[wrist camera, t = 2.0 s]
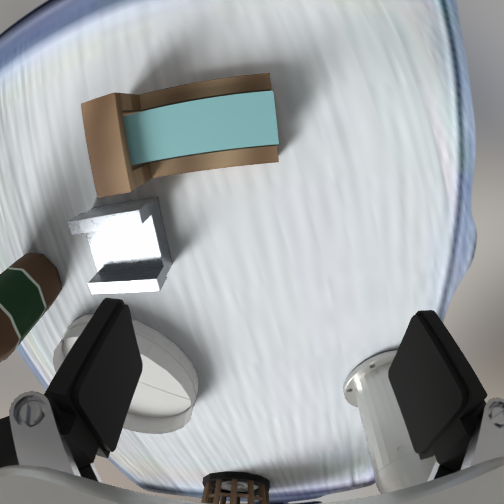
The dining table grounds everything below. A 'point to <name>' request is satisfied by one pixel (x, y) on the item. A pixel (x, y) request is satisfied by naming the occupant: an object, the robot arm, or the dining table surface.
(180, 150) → the teal block
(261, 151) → the brown wooden bracket
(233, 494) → the lantern
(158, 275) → the cradle block
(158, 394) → the dish
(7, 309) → the beer bottle
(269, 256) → the dining table surface
